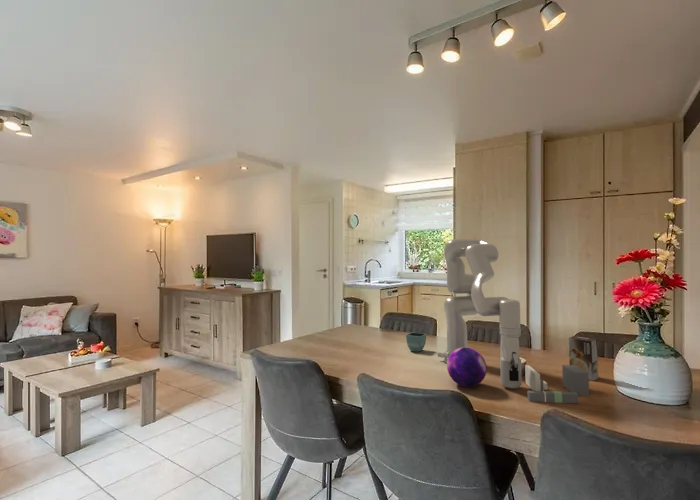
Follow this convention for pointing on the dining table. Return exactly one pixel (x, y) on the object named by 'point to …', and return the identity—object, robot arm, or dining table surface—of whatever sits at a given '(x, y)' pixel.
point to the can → (505, 374)
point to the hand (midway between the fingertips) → (510, 376)
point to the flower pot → (416, 341)
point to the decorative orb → (466, 367)
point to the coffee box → (584, 355)
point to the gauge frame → (572, 380)
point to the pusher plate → (534, 379)
